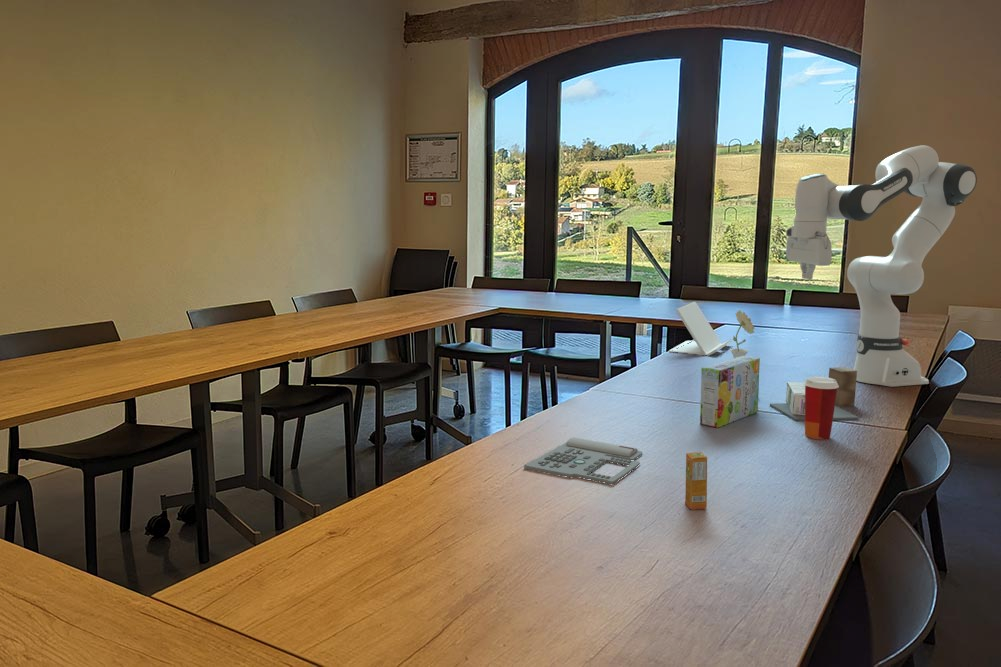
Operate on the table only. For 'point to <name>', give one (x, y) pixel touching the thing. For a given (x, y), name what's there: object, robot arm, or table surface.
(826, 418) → the paper cup
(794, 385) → the syrup box
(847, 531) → the table surface
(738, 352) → the flower in vase
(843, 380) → the walnut block
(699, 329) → the tablet stand
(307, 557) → the table surface
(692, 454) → the supplement box
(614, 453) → the office telephone
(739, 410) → the snack box
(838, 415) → the mat
